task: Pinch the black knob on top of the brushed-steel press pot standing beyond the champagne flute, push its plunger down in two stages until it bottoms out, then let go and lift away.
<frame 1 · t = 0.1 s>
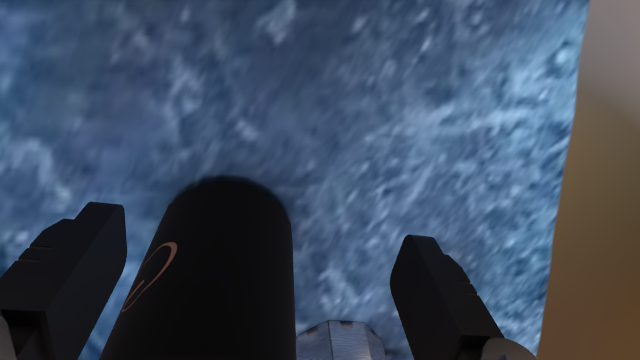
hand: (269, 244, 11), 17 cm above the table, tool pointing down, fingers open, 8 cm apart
press pot: (336, 349, 42), on the table
coffee jar: (229, 226, 32), on the table
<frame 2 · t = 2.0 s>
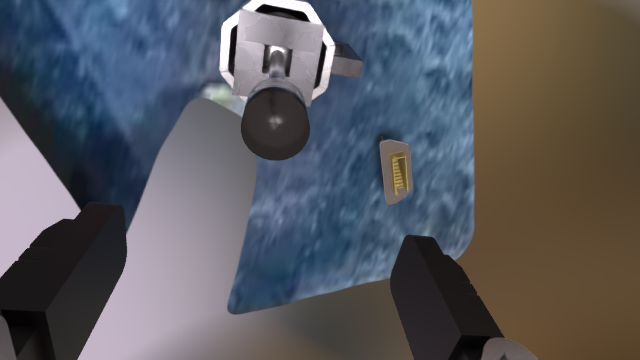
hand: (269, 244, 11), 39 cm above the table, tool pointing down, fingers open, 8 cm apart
press pot: (277, 33, 45), on the table
plunger: (276, 81, 26), point 21 cm above the table, slide at 0.0 cm
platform: (387, 155, 55), on the table
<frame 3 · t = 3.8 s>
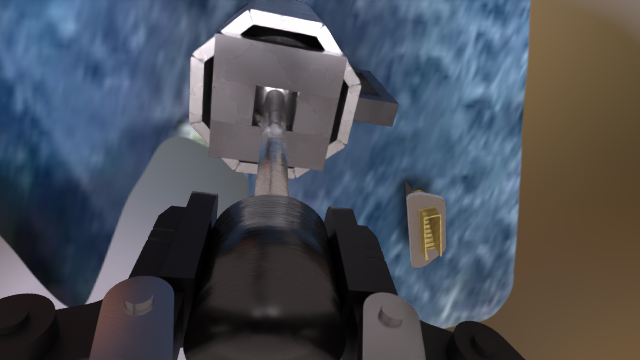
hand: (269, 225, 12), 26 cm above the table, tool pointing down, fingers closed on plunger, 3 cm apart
press pot: (276, 56, 34), on the table
plunger: (273, 157, 16), point 21 cm above the table, slide at 0.0 cm, touching gripper
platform: (412, 204, 45), on the table
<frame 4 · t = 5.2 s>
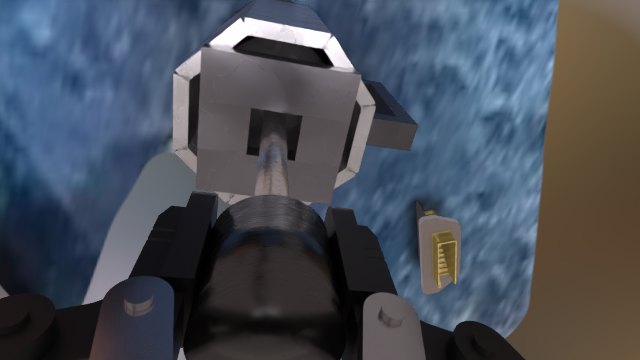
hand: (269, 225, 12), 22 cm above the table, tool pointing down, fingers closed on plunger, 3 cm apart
press pot: (276, 64, 31), on the table
plunger: (273, 157, 16), point 17 cm above the table, slide at 3.9 cm, touching gripper
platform: (423, 225, 41), on the table
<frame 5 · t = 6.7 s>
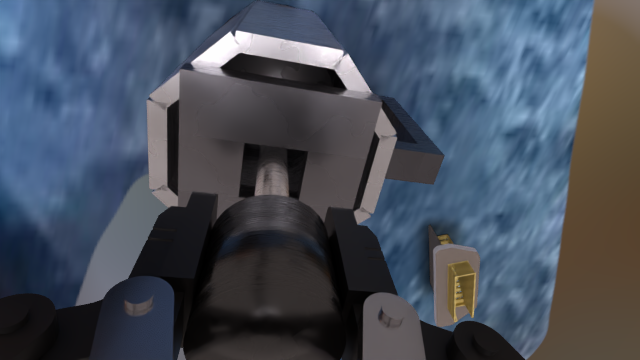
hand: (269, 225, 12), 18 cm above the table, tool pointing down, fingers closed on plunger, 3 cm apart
press pot: (275, 77, 27), on the table
plunger: (273, 157, 16), point 13 cm above the table, slide at 7.8 cm, touching gripper
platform: (436, 250, 38), on the table
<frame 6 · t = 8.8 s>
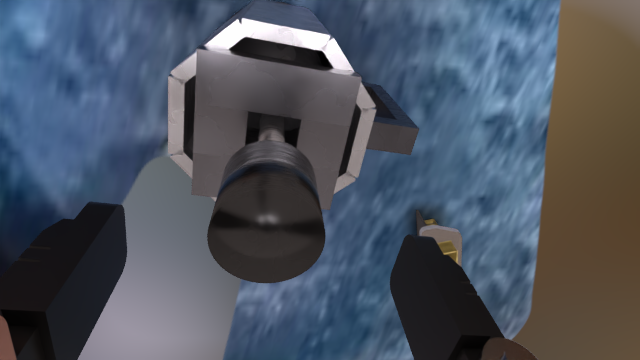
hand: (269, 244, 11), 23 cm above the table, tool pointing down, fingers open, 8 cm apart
press pot: (274, 67, 30), on the table
plunger: (272, 126, 19), point 13 cm above the table, slide at 7.9 cm
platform: (423, 234, 41), on the table
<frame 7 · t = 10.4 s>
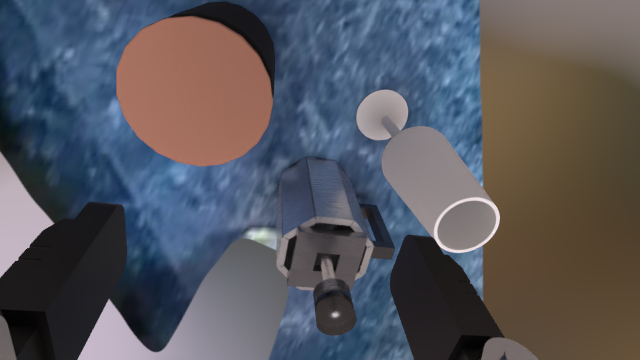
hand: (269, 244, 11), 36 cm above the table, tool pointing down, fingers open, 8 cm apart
press pot: (313, 190, 51), on the table
plunger: (324, 252, 40), point 13 cm above the table, slide at 7.9 cm
coffee jar: (227, 53, 42), on the table
champagne flute: (381, 115, 47), on the table
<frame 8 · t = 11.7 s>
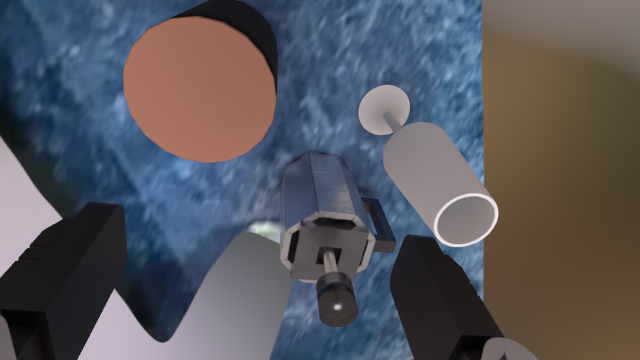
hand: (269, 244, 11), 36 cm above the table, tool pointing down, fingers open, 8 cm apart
press pot: (316, 184, 52), on the table
plunger: (327, 246, 40), point 13 cm above the table, slide at 7.9 cm
coffee jar: (230, 49, 42), on the table
champagne flute: (383, 110, 48), on the table
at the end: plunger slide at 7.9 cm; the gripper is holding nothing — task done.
